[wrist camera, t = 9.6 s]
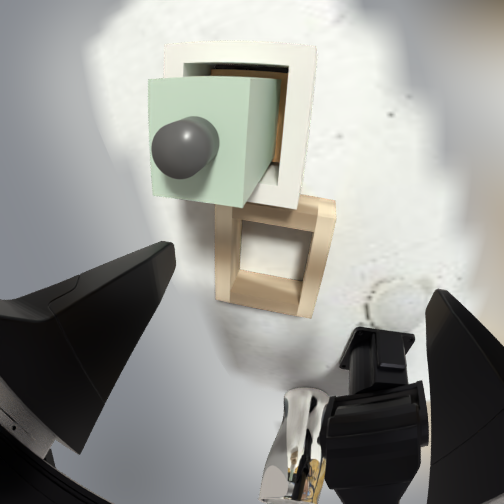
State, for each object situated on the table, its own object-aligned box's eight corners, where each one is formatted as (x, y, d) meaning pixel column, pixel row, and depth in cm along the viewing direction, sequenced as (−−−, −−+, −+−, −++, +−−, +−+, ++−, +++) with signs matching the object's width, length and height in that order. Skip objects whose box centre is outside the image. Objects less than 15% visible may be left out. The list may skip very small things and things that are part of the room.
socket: (303, 180, 20) (296, 209, 16) (197, 166, 22) (166, 190, 17) (317, 55, 15) (316, 46, 11) (199, 49, 17) (164, 44, 12)
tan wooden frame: (313, 294, 26) (311, 318, 23) (226, 277, 27) (215, 299, 24) (335, 200, 21) (336, 218, 18) (228, 183, 22) (214, 199, 19)
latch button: (282, 158, 19) (280, 162, 18) (213, 150, 20) (208, 154, 19) (290, 73, 16) (288, 73, 15) (216, 69, 17) (210, 69, 16)
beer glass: (283, 408, 38) (260, 504, 26) (278, 383, 34) (251, 494, 22) (332, 410, 36) (318, 509, 24) (334, 385, 33) (320, 502, 20)
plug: (274, 156, 18) (231, 225, 10) (214, 149, 19) (134, 210, 11) (281, 79, 15) (238, 78, 8) (217, 75, 16) (125, 82, 8)
